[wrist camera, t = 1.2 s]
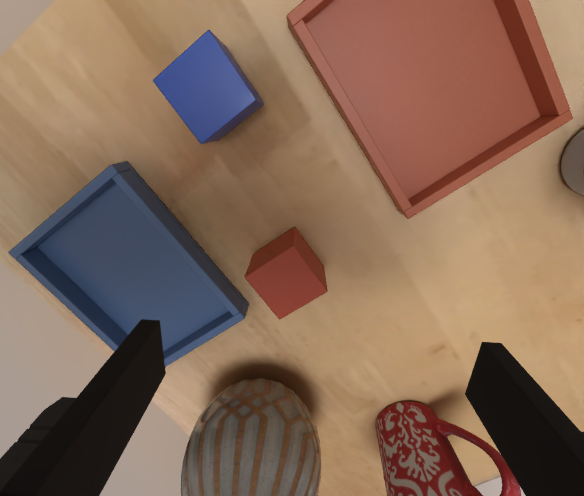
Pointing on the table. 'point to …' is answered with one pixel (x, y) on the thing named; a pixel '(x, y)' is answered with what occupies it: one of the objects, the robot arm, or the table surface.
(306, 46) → the terracotta tray
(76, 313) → the blue tray
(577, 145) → the coffee cup
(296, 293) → the rust block
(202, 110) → the blue block
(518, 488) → the mug
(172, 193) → the table surface
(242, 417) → the vase
